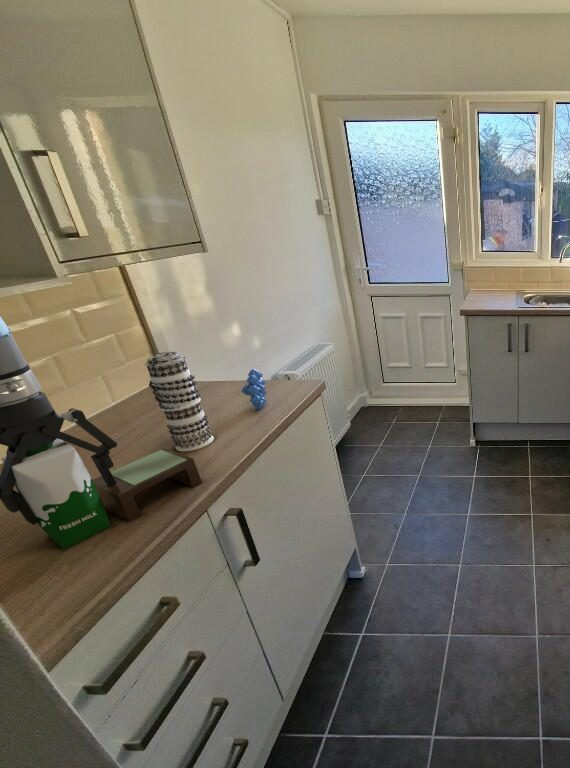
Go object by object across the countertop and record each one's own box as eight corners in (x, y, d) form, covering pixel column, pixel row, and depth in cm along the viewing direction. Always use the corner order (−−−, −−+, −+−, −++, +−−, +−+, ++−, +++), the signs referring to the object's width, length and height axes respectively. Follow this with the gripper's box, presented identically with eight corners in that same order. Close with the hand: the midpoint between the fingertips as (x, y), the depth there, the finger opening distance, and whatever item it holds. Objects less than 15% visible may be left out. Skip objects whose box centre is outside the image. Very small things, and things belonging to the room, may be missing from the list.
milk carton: (100, 510, 86) (57, 426, 78) (119, 525, 82) (76, 438, 74) (41, 537, 79) (-12, 448, 71) (59, 555, 75) (4, 462, 67)
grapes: (250, 400, 135) (240, 366, 131) (273, 397, 137) (264, 363, 133) (242, 416, 125) (230, 379, 120) (267, 412, 127) (257, 376, 122)
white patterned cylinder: (172, 456, 105) (135, 364, 95) (175, 440, 112) (141, 353, 102) (215, 445, 110) (184, 356, 100) (215, 431, 117) (186, 346, 107)
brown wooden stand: (101, 506, 88) (88, 480, 85) (173, 471, 99) (164, 447, 97) (129, 521, 83) (116, 494, 81) (202, 482, 95) (192, 457, 92)
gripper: (-92, 437, 59) (-6, 551, 68) (107, 375, 78) (154, 471, 87) (-109, 428, 62) (-24, 538, 71) (87, 370, 81) (134, 463, 90)
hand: (74, 501), depth 79 cm, fingers open, 11 cm apart
